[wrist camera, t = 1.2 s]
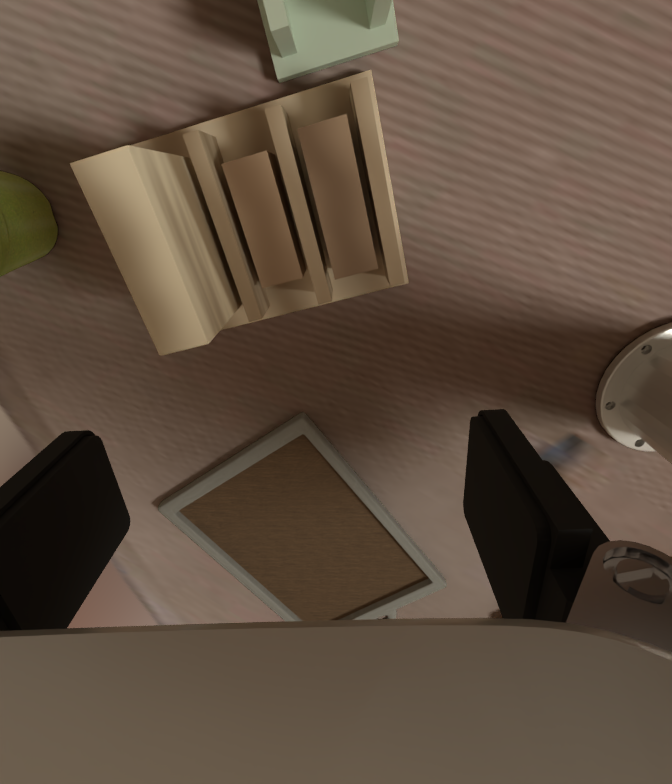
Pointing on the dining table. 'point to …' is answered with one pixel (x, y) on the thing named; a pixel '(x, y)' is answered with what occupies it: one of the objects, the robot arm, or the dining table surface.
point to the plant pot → (23, 223)
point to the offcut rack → (295, 192)
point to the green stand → (325, 32)
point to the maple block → (162, 243)
